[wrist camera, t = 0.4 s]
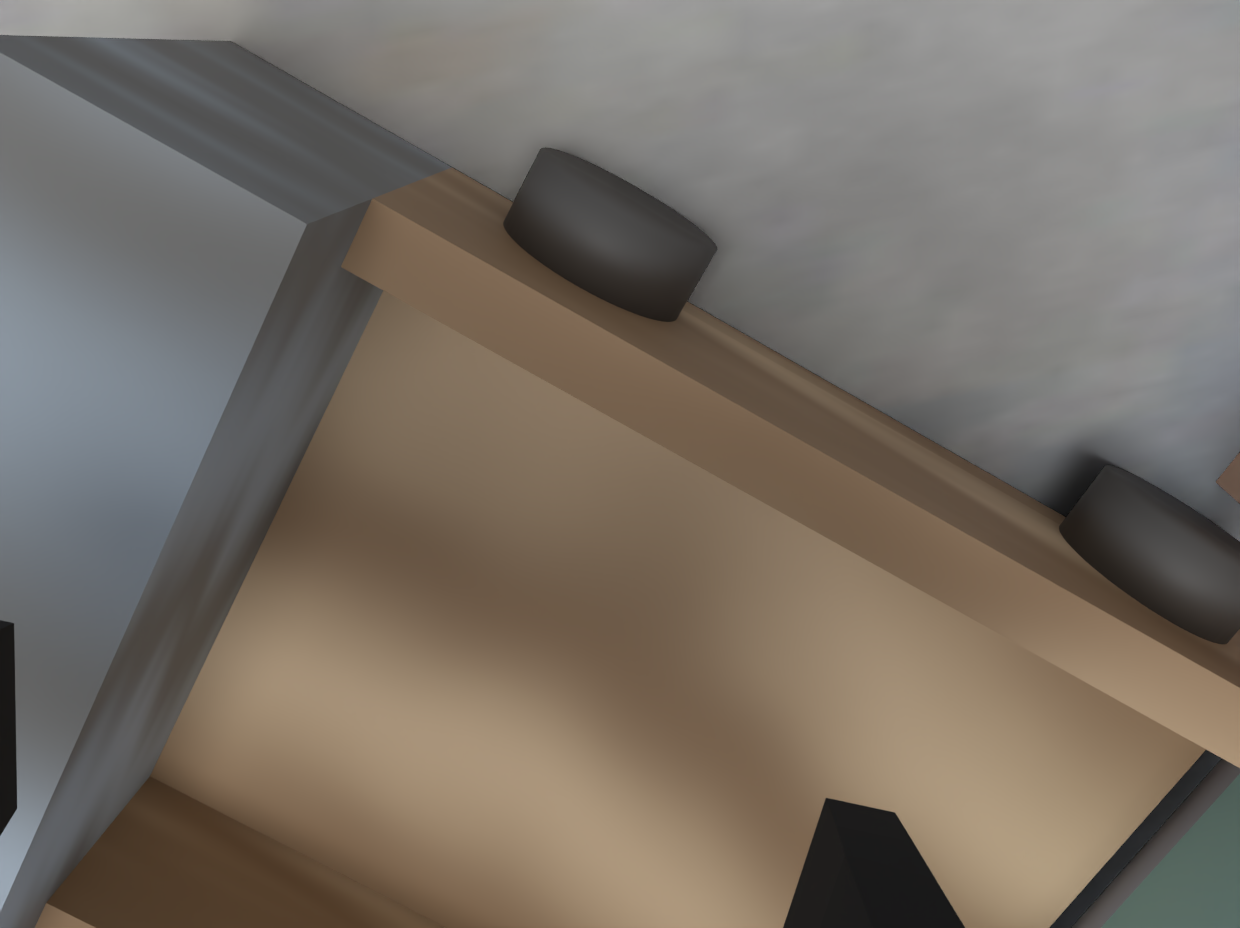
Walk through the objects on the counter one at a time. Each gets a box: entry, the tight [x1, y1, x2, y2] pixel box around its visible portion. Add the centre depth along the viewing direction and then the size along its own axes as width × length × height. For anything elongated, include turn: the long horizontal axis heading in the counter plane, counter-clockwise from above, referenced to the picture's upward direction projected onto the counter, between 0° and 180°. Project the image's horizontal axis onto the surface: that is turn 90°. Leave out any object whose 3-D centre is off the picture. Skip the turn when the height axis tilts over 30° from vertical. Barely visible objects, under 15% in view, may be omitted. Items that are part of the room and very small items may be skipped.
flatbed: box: [0, 35, 1240, 928], centre depth 19 cm, size 16×20×7 cm
